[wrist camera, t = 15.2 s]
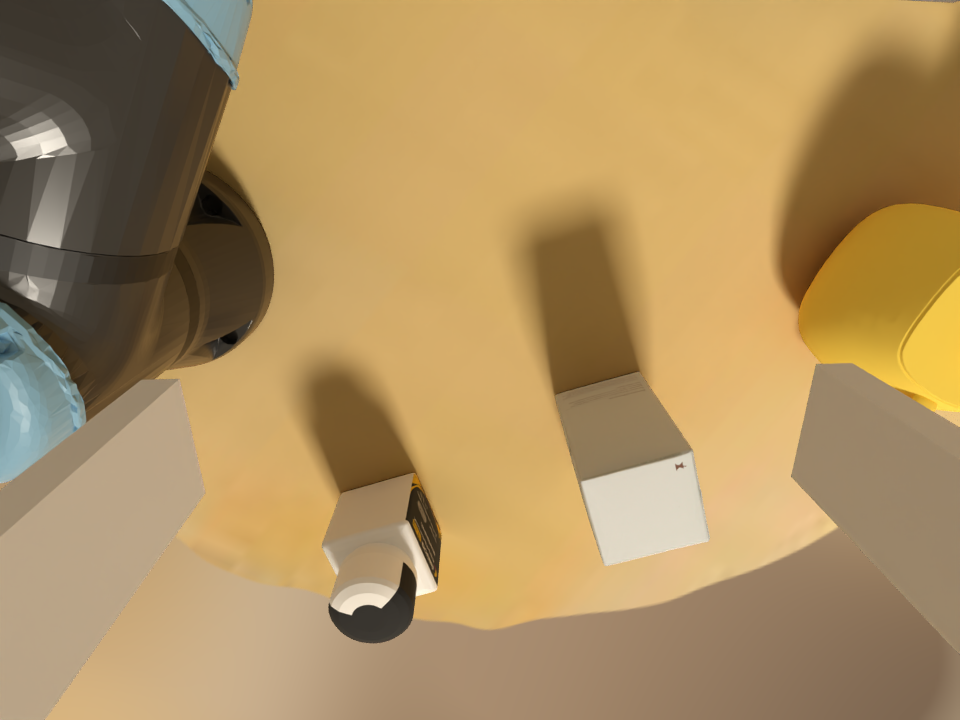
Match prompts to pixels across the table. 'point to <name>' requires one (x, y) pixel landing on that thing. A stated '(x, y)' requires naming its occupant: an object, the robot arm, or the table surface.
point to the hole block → (939, 0)
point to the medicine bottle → (381, 557)
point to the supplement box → (632, 469)
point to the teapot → (893, 303)
